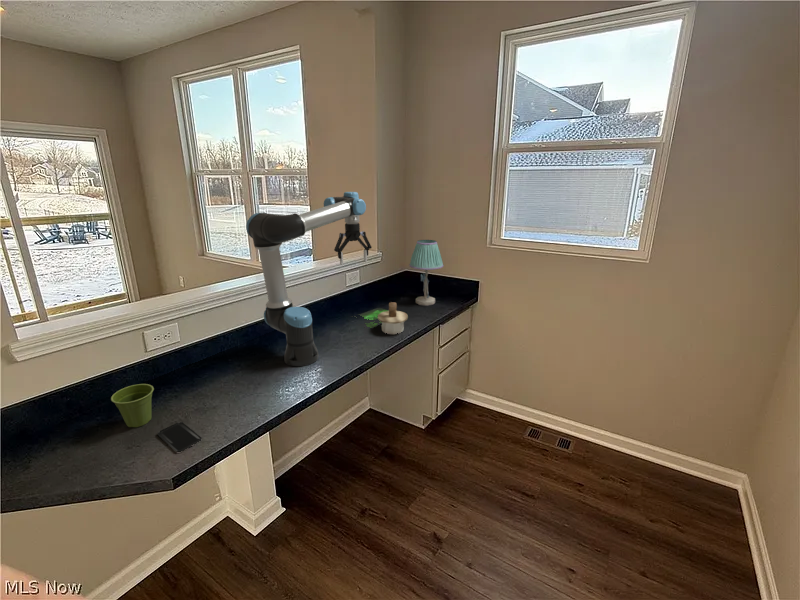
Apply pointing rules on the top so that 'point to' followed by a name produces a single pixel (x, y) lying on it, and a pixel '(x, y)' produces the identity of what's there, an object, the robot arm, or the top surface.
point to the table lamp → (426, 265)
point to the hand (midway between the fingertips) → (353, 263)
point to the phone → (179, 436)
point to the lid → (392, 315)
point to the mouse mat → (372, 316)
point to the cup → (392, 328)
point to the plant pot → (134, 404)
